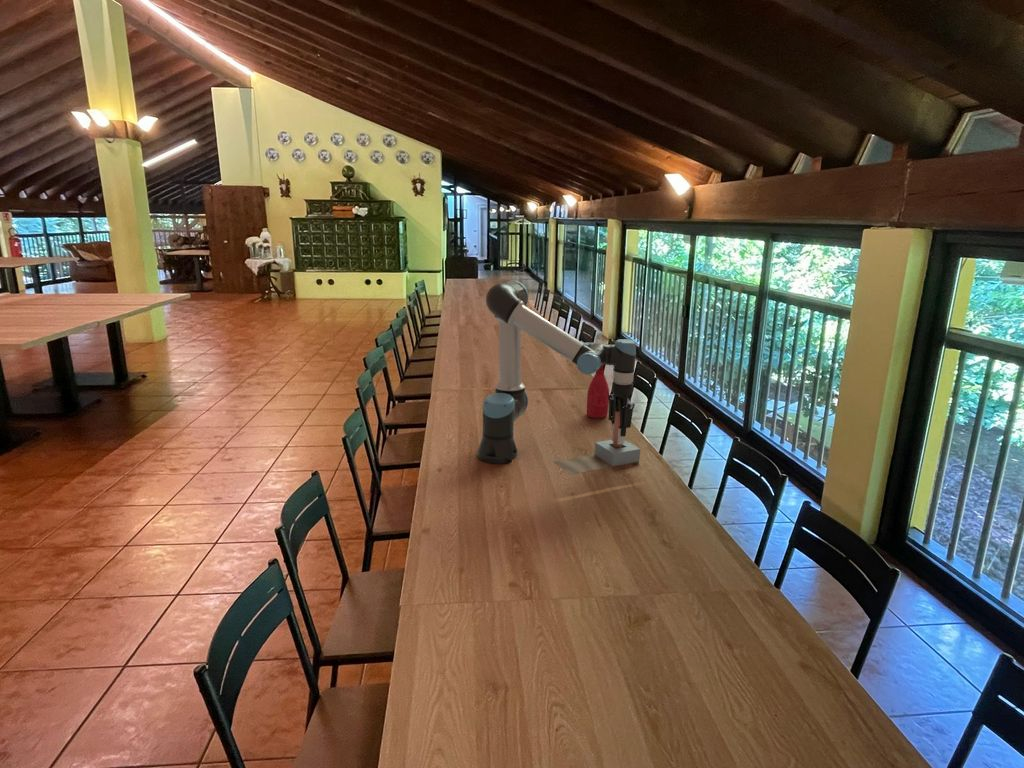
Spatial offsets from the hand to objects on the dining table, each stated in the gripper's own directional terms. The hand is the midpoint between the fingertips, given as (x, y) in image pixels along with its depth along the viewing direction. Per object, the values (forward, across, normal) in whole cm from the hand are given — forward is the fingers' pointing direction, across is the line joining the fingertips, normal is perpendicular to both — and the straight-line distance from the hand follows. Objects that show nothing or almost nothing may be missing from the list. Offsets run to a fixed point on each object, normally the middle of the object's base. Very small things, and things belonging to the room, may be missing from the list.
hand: (617, 441), depth 231 cm
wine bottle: (+8, +46, -22) cm, 52 cm away
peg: (+3, 0, 0) cm, 3 cm away
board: (+8, 0, +9) cm, 12 cm away
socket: (+8, 0, 0) cm, 8 cm away
